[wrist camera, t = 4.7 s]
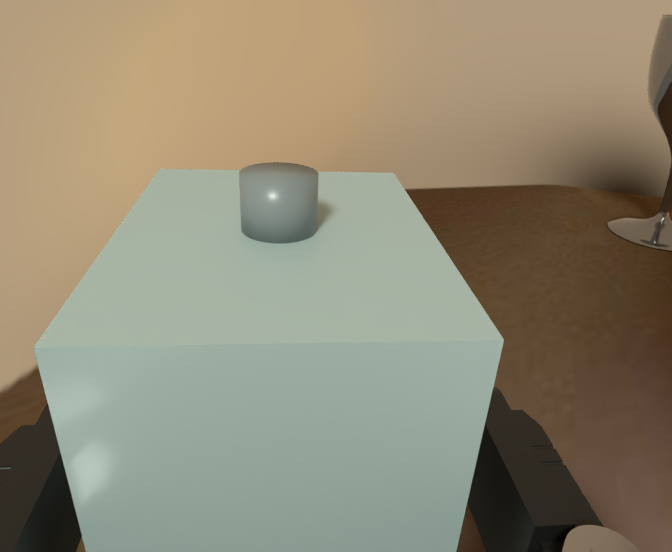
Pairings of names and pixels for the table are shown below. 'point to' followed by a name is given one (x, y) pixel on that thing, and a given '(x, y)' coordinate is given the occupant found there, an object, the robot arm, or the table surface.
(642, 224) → the wine glass
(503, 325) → the table surface
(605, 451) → the table surface
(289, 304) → the cloche
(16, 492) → the robot arm
